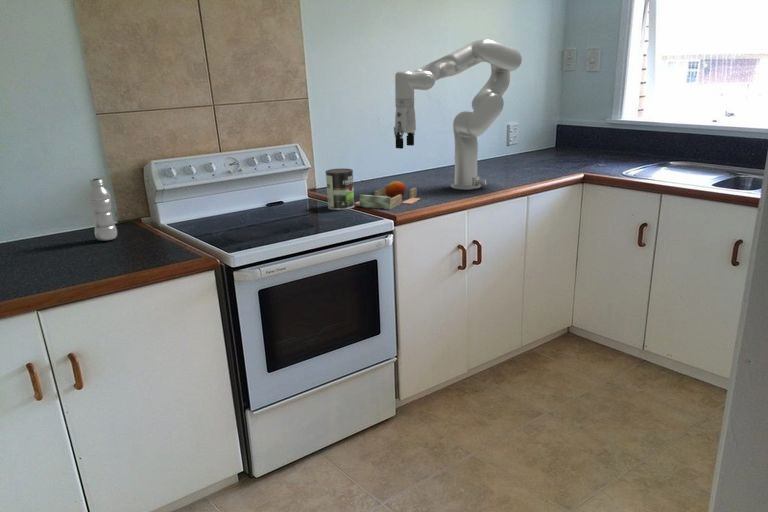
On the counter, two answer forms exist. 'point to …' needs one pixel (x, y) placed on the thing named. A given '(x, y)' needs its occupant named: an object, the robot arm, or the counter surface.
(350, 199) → the coffee can
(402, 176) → the counter surface
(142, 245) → the counter surface
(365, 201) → the trap box
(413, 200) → the trap marks
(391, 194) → the fruit
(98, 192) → the plastic bottle
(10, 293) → the counter surface
